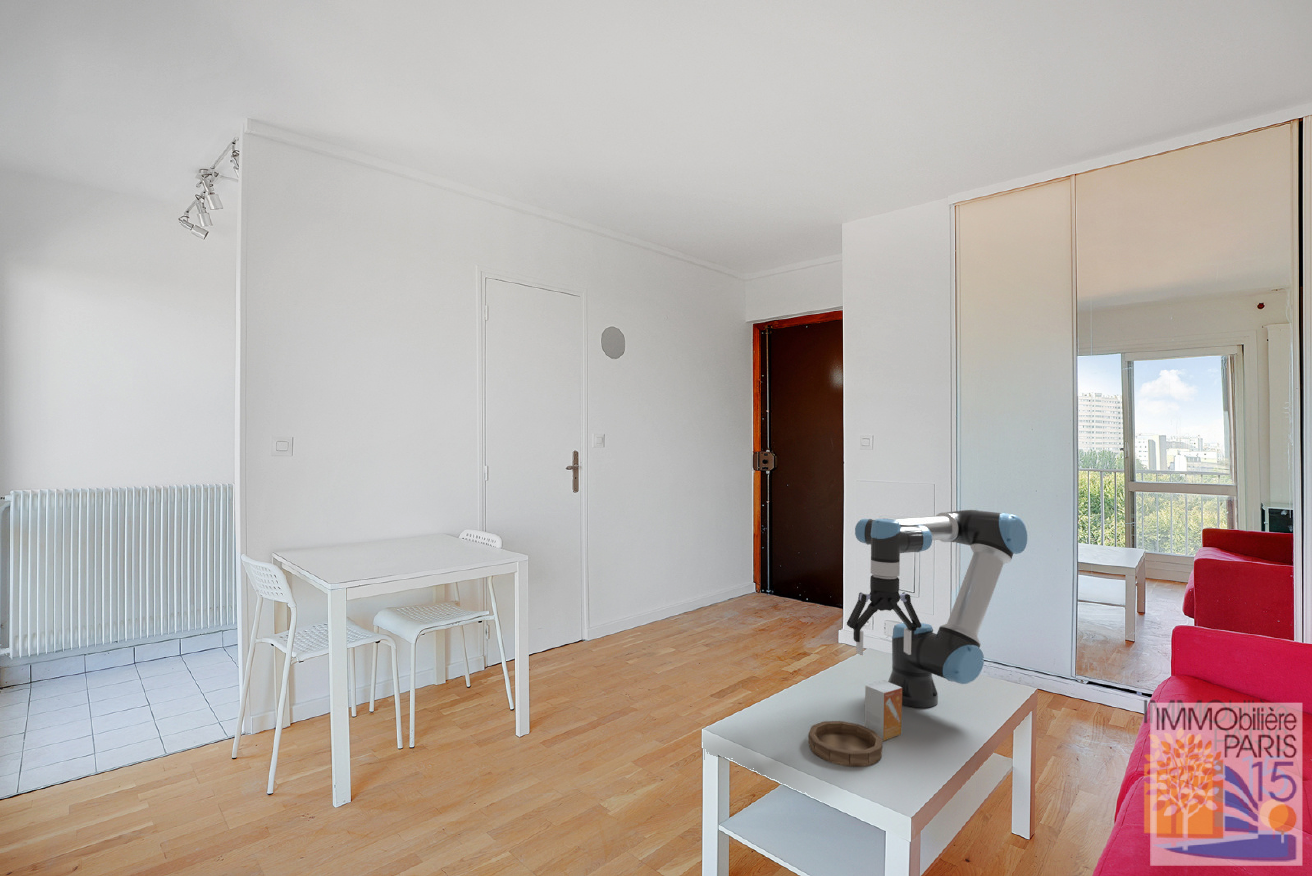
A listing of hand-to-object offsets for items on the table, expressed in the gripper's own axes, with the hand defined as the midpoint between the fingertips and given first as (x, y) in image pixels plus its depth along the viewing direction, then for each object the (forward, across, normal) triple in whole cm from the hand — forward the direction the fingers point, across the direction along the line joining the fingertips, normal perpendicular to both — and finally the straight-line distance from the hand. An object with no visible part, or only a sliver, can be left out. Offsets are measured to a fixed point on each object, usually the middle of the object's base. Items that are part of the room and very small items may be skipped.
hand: (883, 653), depth 173 cm
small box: (+22, 0, 0) cm, 22 cm away
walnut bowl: (+22, +14, +8) cm, 27 cm away
